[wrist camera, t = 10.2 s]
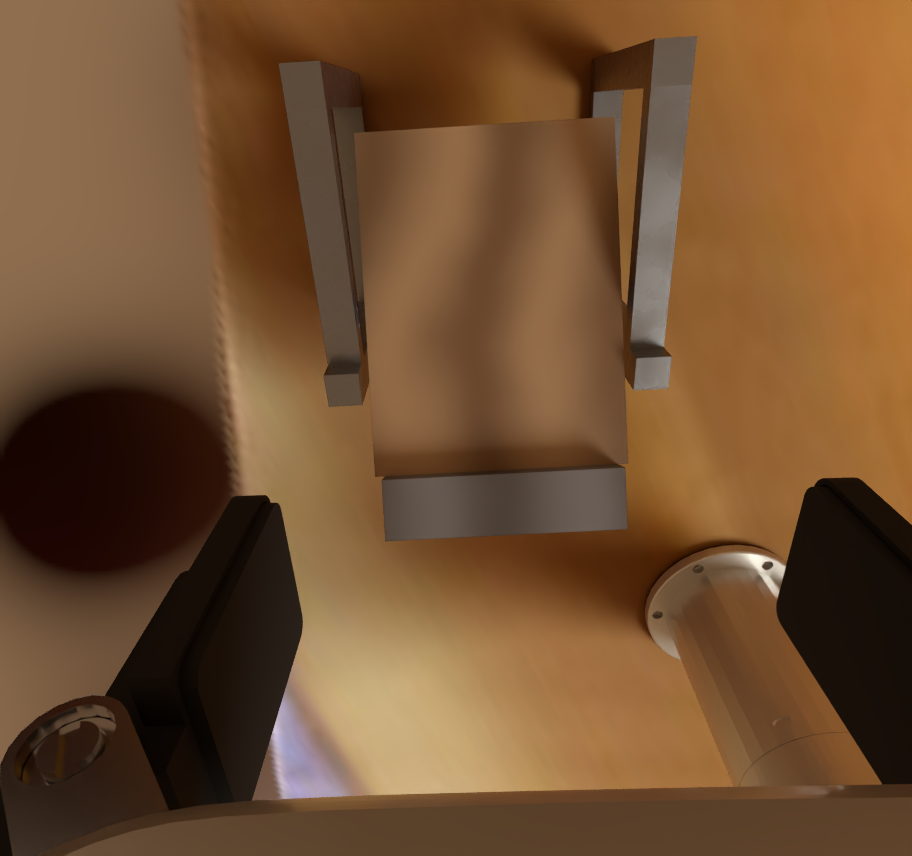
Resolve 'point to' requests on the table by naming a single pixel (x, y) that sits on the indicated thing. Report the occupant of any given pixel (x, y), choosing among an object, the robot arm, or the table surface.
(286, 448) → the table surface
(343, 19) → the table surface
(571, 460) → the trapdoor
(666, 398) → the table surface
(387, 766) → the table surface
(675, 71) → the frame
